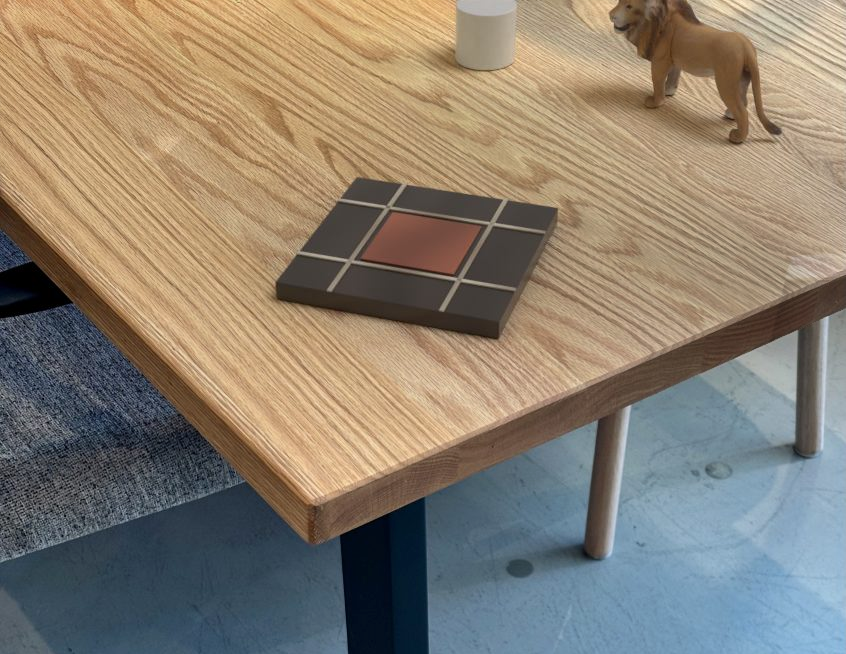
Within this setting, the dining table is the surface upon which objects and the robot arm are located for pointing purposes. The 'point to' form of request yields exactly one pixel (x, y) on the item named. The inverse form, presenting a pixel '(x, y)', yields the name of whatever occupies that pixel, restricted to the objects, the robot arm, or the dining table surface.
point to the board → (421, 256)
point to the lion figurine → (692, 56)
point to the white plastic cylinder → (485, 33)
